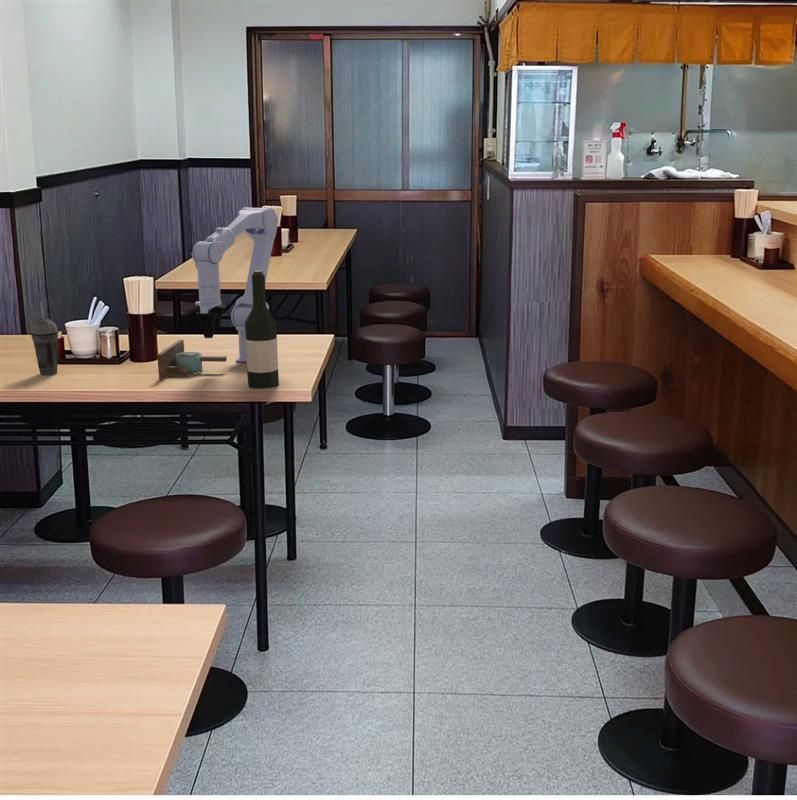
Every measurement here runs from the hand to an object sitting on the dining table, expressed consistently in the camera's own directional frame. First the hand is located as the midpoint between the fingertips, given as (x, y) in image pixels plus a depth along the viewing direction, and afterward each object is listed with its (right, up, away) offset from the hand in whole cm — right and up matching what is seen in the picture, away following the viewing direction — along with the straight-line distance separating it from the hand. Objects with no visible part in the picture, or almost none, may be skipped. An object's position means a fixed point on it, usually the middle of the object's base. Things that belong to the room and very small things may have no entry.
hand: (211, 335), depth 278 cm
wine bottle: (+16, -14, -12) cm, 24 cm away
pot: (-3, -10, +4) cm, 11 cm away
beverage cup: (-46, -11, +4) cm, 47 cm away
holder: (-9, -10, +4) cm, 14 cm away
